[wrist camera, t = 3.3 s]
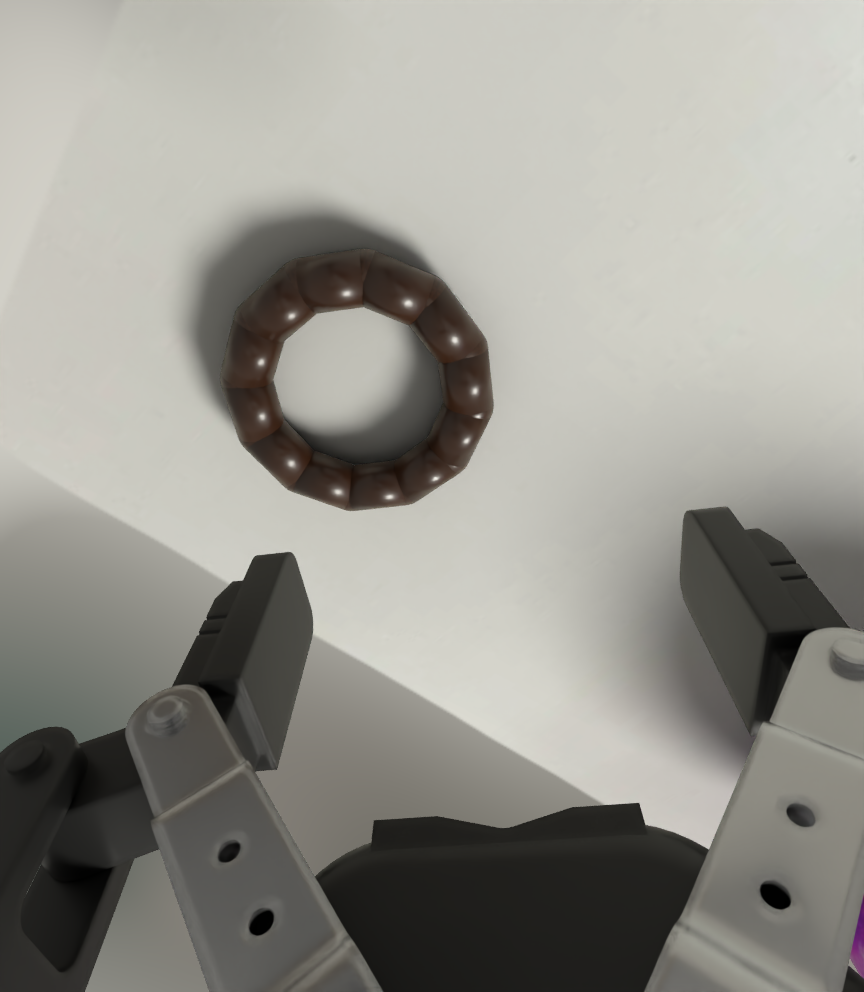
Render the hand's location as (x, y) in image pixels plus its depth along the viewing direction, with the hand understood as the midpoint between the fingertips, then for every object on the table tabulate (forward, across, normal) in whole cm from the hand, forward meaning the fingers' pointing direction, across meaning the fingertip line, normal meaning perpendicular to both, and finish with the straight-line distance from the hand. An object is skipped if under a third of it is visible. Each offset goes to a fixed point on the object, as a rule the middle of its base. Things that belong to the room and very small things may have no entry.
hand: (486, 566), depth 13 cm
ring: (+11, +4, 0) cm, 12 cm away
